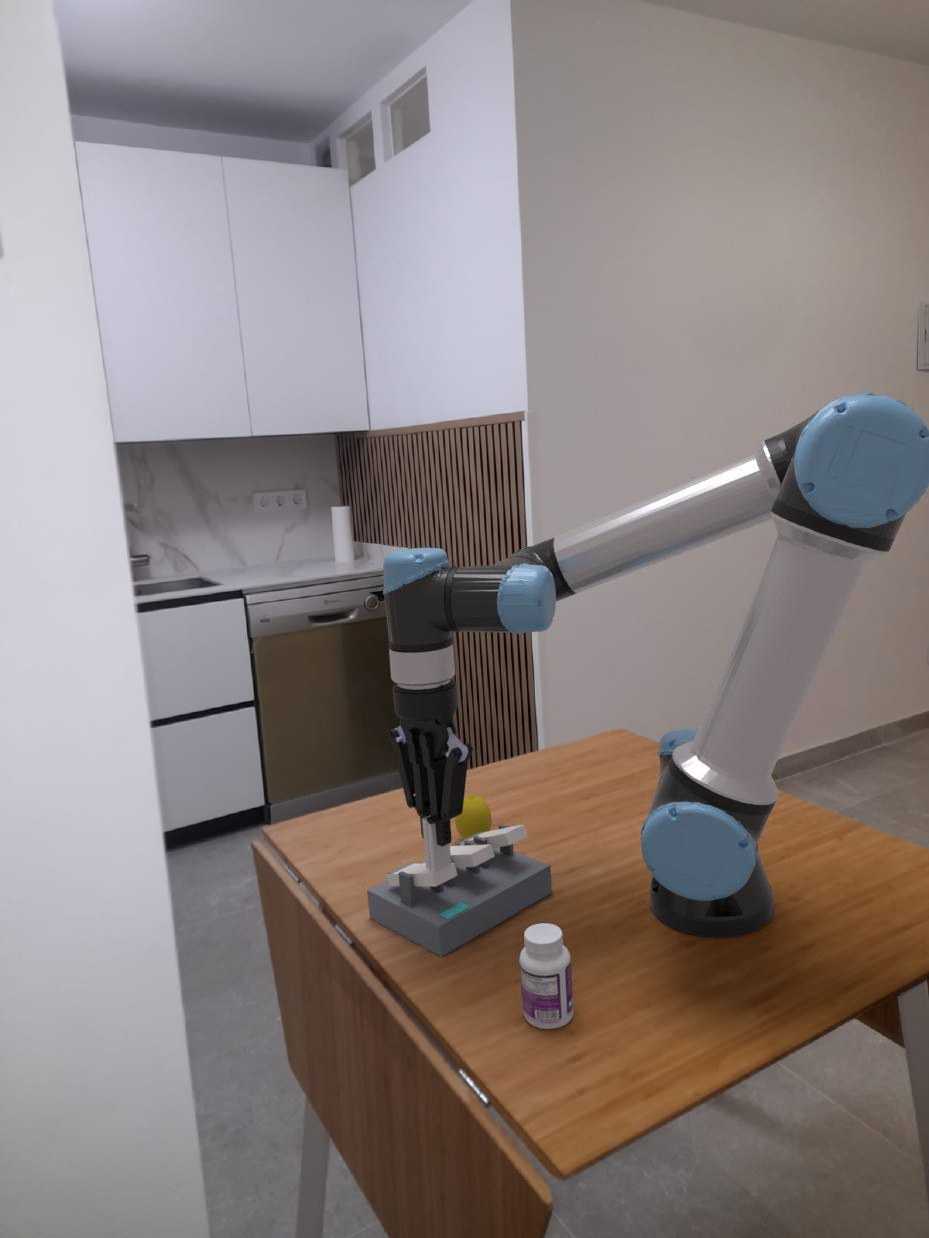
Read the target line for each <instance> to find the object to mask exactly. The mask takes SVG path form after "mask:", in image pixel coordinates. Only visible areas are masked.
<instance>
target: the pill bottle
mask: <svg viewBox="0 0 929 1238" xmlns="http://www.w3.org/2000/svg"><path fill="white" fill-rule="evenodd" d="M523 933H524V934H523V936H524V937H523V939H524V940H523V941H524V947H523V948H522V950H521V952H520V954H519V973H520V986H521V987H520V989H521V1001H522V1003H521V1004H522V1009H523V1010H522V1011H523V1016H524V1018H525V1020H526V1022H528V1023H529V1024H530V1025H531V1026H533V1027H535V1028H538V1029H542V1030H552V1029H553V1030H554V1029H559V1028H562V1027H564V1026H566V1025H567V1024H569V1023H570V1021H571V1020H572V1018H573V1017H574V1013H575V1012H574V994H573V993H574V991H573V989H574V988H573V978H572V977H573V975H572V973H573V972H572V960H571V959H572V957H571V954H570V952H569V950H568V948H567V947H566V946H565V945H564V937H563V931H562V929H561V928H560V927H559V926H558V925H555V924H552V923H545V922H544V923H543V922H542V923H536V924H532V925H530V926H529V927H527V928H526V929H525V931H524V932H523Z"/></svg>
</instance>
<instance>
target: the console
mask: <svg viewBox="0 0 929 1238" xmlns="http://www.w3.org/2000/svg"><path fill="white" fill-rule="evenodd" d="M497 827H498V829H503V828H508V827H510V826H509V825H507V824H503V823H500V824H498V826H497ZM473 839H474V842H471V841H469V840H466V841H464V846H468V845H487V839H484V838H481V837H479V836H475V837H473ZM458 846H461V845H460V844H459V845H458ZM492 849H493V852H494V856H495V857H493V858H491V859H489V860H487V861H485V862H483V863H481V864H479V865H477V866H475V867H455V868H456V871H457V875H458V876H456V877H454V878H452V879H450V880H448V881H446V882H444V883H442V884H440V885H438V886H436V887H433V886H413V876H412V875H409V874H407V873H405V872H403V871H402V872H399V884H400V886H389V885H388V881H387V880H385V881H383V882H381V883H379V884H377V885H375V886H372V887H371V888H369V889H367V890H366V893H367V900H368V901H367V903H368V912H369V919H370V920H373V921H374V922H376V923H377V924H380V925H382V926H383V927H385V928H388V930H391V931H393V932H394V933H396V934H398V935H400V936H402V937H404V938H406V939H408V940H409V941H411V942H413V943H415V944H416V945H418V946H421V947H422V948H424V949H426V950H427V951H428V952H429V951H430V952H431V953H434V954H435V955H437V956H439V957H441V958H442V957H444V956H447V955H448V954H449V953H450V952H453V951H454V950H456V949H458V948H459V947H461V946H463V945H464V944H466V943H468V942H470V941H471V940H474V939H475V938H477V937H478V936H481V934H483V933H486V932H487V931H490V929H492V928H493V927H496V926H498V925H499V924H501V923H502V922H504V921H506V920H508V919H509V918H511V917H513V916H514V915H516V914H518V913H520V912H522V911H523V910H525V909H526V908H528V907H530V906H532V905H533V904H535V903H536V902H538V901H540V900H542V899H544V898H546V897H548V896H549V895H550V894H552V893H553V890H552V888H553V887H552V871H551V870H552V868H551V865H550V864H549V863H546V862H543V861H541V860H538V859H536V858H533V857H531V856H527V855H525V854H522V853H519V852H517V851H515V850H514V843H513V844H511V845H508V846H503V847H497V848H492ZM424 863H425V861H423V862H422V863H420V864H424ZM451 863H452V862H451Z"/></svg>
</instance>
